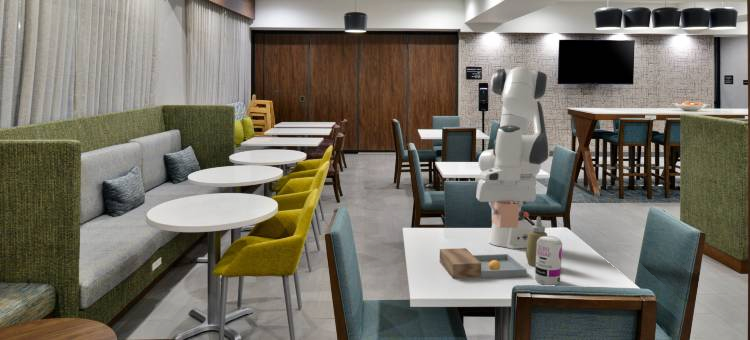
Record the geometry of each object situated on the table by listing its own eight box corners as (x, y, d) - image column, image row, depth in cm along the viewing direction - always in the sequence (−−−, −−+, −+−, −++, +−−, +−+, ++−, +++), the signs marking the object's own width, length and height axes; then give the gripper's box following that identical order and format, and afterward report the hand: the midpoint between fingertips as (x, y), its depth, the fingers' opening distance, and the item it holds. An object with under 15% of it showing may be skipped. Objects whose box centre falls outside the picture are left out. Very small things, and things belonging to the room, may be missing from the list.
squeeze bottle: (545, 269, 206) (547, 220, 203) (522, 265, 210) (525, 217, 207) (550, 263, 213) (552, 216, 210) (528, 259, 217) (530, 213, 214)
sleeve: (508, 222, 200) (510, 199, 199) (517, 227, 192) (519, 204, 191) (491, 222, 199) (493, 199, 198) (499, 227, 191) (501, 204, 190)
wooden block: (465, 261, 215) (465, 248, 214) (480, 277, 197) (481, 263, 197) (439, 262, 214) (439, 249, 213) (452, 278, 196) (453, 264, 195)
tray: (507, 260, 216) (507, 253, 216) (526, 276, 199) (526, 269, 198) (466, 261, 214) (466, 255, 214) (481, 278, 196) (481, 271, 196)
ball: (497, 269, 204) (498, 258, 204) (502, 272, 200) (502, 261, 200) (487, 269, 204) (487, 259, 203) (491, 273, 200) (491, 262, 199)
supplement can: (559, 279, 196) (562, 236, 194) (560, 287, 188) (562, 243, 186) (535, 276, 199) (537, 234, 196) (534, 284, 191) (536, 240, 188)
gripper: (532, 172, 198) (530, 212, 200) (475, 172, 195) (473, 212, 197) (540, 175, 192) (538, 215, 194) (481, 175, 189) (479, 216, 191)
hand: (505, 214), depth 195 cm, fingers closed on sleeve, 6 cm apart
